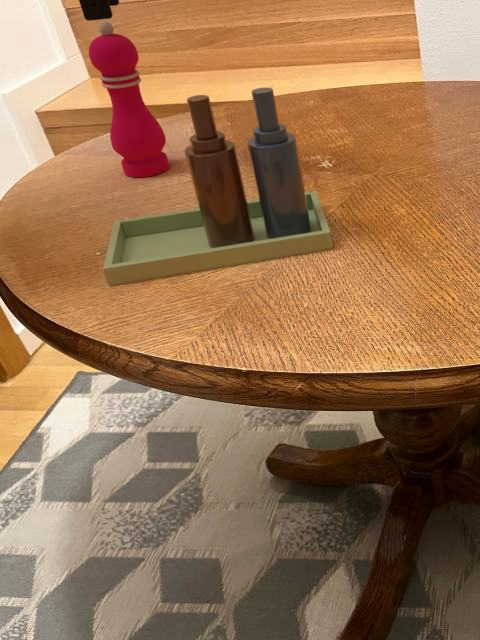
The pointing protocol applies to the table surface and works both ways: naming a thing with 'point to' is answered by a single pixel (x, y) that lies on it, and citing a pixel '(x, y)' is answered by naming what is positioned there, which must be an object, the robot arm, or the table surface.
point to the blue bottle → (277, 171)
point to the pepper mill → (128, 105)
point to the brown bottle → (217, 179)
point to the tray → (200, 244)
